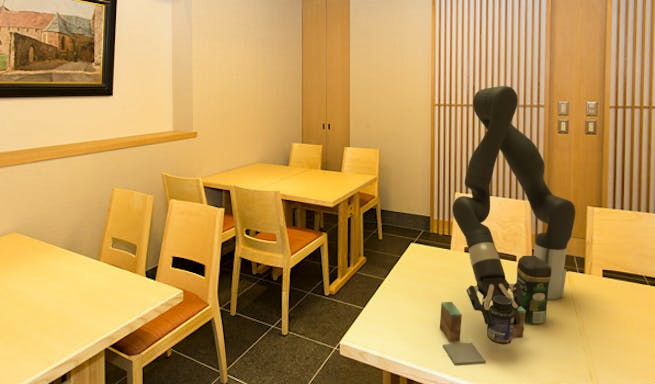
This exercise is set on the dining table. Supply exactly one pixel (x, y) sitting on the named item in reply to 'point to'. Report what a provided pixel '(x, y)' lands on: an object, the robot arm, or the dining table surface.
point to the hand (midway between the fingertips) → (504, 325)
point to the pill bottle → (501, 320)
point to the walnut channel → (453, 317)
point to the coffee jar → (534, 287)
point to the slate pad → (463, 354)
